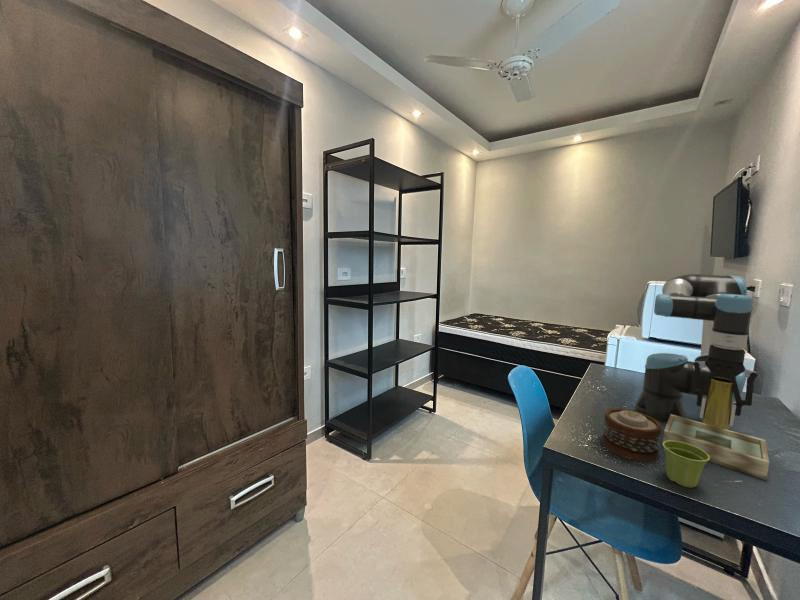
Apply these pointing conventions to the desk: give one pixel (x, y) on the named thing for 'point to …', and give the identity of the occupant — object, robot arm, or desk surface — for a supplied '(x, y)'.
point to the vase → (718, 403)
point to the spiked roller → (632, 434)
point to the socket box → (721, 445)
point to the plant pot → (684, 462)
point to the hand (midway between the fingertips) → (715, 420)
